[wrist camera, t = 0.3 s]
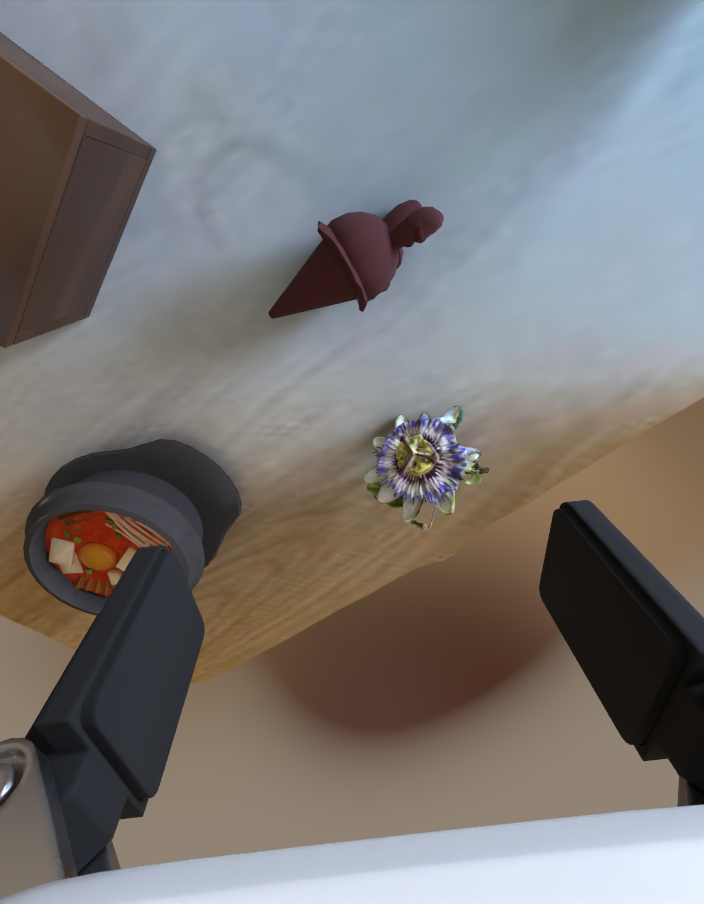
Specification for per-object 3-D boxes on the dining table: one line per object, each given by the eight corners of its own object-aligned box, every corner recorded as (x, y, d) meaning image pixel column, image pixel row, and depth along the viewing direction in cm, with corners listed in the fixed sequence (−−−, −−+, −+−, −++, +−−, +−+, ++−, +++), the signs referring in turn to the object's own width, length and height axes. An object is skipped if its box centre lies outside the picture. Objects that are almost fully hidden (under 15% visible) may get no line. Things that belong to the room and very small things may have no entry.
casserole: (156, 390, 39) (118, 428, 32) (280, 513, 47) (271, 565, 40) (-2, 515, 45) (-65, 570, 38) (131, 605, 53) (101, 665, 46)
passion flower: (393, 403, 47) (455, 380, 36) (452, 467, 50) (526, 464, 38) (330, 473, 44) (376, 472, 33) (396, 538, 46) (460, 558, 35)
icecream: (300, 369, 33) (465, 265, 31) (243, 290, 28) (434, 160, 26) (288, 335, 38) (429, 244, 36) (238, 263, 33) (397, 154, 31)
